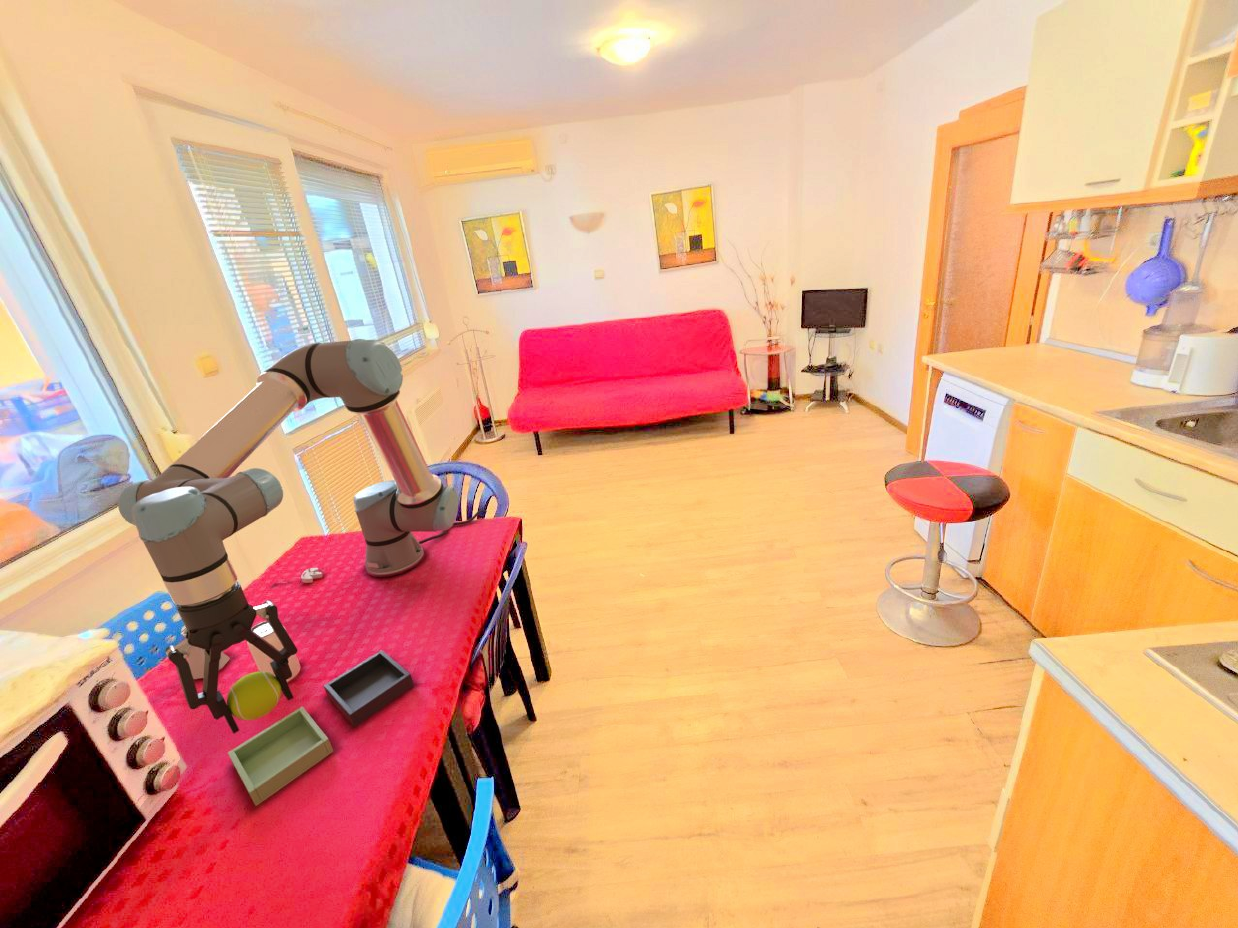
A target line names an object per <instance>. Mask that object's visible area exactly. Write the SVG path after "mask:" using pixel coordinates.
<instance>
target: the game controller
mask: <svg viewBox="0 0 1238 928" xmlns="http://www.w3.org/2000/svg"><path fill="white" fill-rule="evenodd" d="M300 576H301V577H300V579H301V582H302V583H305V584H307V583H308V584H310V583H313V582H314V579H321V578H323V572H322V571H319V567H310V568H307V569H305V570H304V571H303V572H302V573H301V575H300ZM295 578H297V579H299V577H297V576H295V577H294V579H295ZM291 579H293V577H292V578H290V580H291ZM278 583H280V581H278V582H277V584H278ZM282 583H283V584H285V583H286V581H284V582H283V581H282Z"/></svg>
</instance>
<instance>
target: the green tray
mask: <svg viewBox="0 0 1238 928" xmlns="http://www.w3.org/2000/svg"><path fill="white" fill-rule="evenodd" d="M333 753H334V749H333V747H332V744H331V741H330V739H329V738H328V736H327V735H326V733H324V731H323V730H322V729H321V727H320V726H319V725H318V723H316V721H315V720H314V719H313V718H312V716H311V715H310V714H309V712H308V711H307V710H306V709H305V707H304V706H301V707H298V708H297V709H295V710H294V711H292V712H291V713H289V714H288V715H286V716H284V717H283V718H281V719H279V720H277V721H276V722H274V723H273V724H271V725H270V726H268V727H266V728H265V729H263V730H262V731H260V732H258V733H257V734H255V735H254V736H252V737H250V738H249V739H247V740H246V741H244V742H242V743H241V744H238V746H236V747H234V748H232V749H231V750H229V751H227V755H228V757H229V759H230V761H231V763H232V765H233V767H234V768H235V770H236V773H237V774H238V776H239V778H240V780H241V781H242V783H243V784H244V788H245V789H246V791H247V792H248V794H249V796H250V798H251V801H252V802H253V804H254V805H255V807H257V806H259V805H260V804H261V803H263V802H264V801H266V800H267V799H268V798H270V797H271V796H273V795H274V794H276V793H277V792H278V791H280V790H281V789H283V788H284V787H285V786H287V785H288V784H290V783H291V782H293V781H294V780H296V778H298V777H300V776H301V775H303V774H304V773H305V772H307V771H308V770H309V769H311V768H312V767H314V766H315V765H317V764H318V763H320V762H321V761H322V760H324V759H325V758H326V757H328V756H329V755H331V754H333Z"/></svg>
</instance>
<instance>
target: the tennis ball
mask: <svg viewBox="0 0 1238 928" xmlns="http://www.w3.org/2000/svg"><path fill="white" fill-rule="evenodd" d="M281 696H282V690H281V685H280V682H279V680H278V679H277V678H276V677H275V676H274V675H273V674H271V673H268V672H262V671H259V670H258V671H253V672H250V673H247V674H246V675H243V676H241V677H240V678H239V679H238V680H236V682H234V683H233V685H232V686H231V688H230V689H229V691H228V693H227V697H226V704H227V706H228V708H229V710H230V712H231V714H232V716H233V718H236V719H239V720H242V721H254V720H258V719H260V718H261V719H262V718H263V717H264V716H267V715H268V714H269V713H270V712H272V711H273V710H274V708H276V706H277V704H278V703H279V701H280V699H281Z"/></svg>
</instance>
